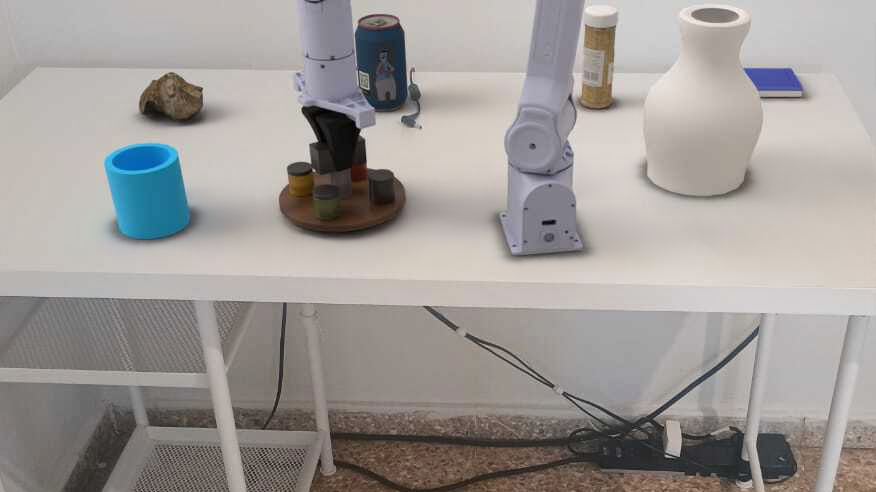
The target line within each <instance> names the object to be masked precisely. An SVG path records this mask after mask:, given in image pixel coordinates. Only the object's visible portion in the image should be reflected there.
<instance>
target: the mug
mask: <svg viewBox="0 0 876 492" xmlns="http://www.w3.org/2000/svg"><path fill="white" fill-rule="evenodd" d="M103 166H104V170H105V174H106V179H107V183H108V187H109V190H110V194H111V199H112V202H113V207H114V211H115V216H116V219H117V220H116V221H117V224H118V227H119V230H120V231H121V233H122V234H123V235H125V236H127V237H129V238H132V239H137V240H155V239H162V238H165V237H168V236H172V235H174V234H176V233H178V232H180V231H182V230H183V229H185V228H186V227H187V226H188V225H189V223H190V222H191V213H190V208H189V202H188V198H187V193H186V188H185V183H184V178H183V173H182V166H181V162H180V157H179V151H178V150H177V149H176V148H175V147H174V146H171V145H169V144H166V143H161V142H160V143H159V142H143V143H135V144H131V145H130V144H129V145H127V146H124V147H120V148H119V149H116V150H114V151H112V152H111V153H109V154H107V156H106V158H105V159H104V164H103Z"/></svg>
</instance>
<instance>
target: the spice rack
mask: <svg viewBox="0 0 876 492" xmlns="http://www.w3.org/2000/svg"><path fill="white" fill-rule="evenodd" d="M308 147H309V157H310V162H308V161H295V162H291V163H289V164H288V165H287V167H286V173H287V180H288V183H287V184H286V185H285V187H283V188H282V190H281V191H280V193H279V196H278V206H279V211H280V213H281V214H282V216H283V217H284V218H285V219H286V220H287V221H289V222H291V224H294V225H296V226H298V227H302V228H304V229H308V230H313V231H319V232H334V233H335V232H336V233H337V232H350V231H358V230H364V229H367V228H371V227H375V226H377V225H380V224H382V223H384V222H387V221H389V220H391V218H394V217H395V216H396V215H398V213H399V212H400V211H402V209H403V208H404V206H405V204H406V201H407V200H406V199H407V197H406V188H405V186H404V184H403V183H402V182H401V180H399V179H398V178H397V177H396V176H395V174H394V172H393V171H392V170H391V169H386V168H378V169H374V168H371V167H370V168H369V167H368V158H367V145H366V139H365V138H364V137H363V136H362V135H361V134H359V137H358V141H357V145H356V150H355V155H354V160H353V164H352V168H349V169H346V170H343V171H340V172H337V170H336V168H335V165H334V162H333V158H332V154H331V150H330V148H329V146H328V143H327V141H326V142H322V143H321V142H320V141H318V140H317V141H314V142H311V143H308Z"/></svg>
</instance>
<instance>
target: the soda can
mask: <svg viewBox="0 0 876 492" xmlns="http://www.w3.org/2000/svg"><path fill="white" fill-rule="evenodd" d="M400 22H401V20H400V18H399V17H398V16H396V15H393V14H388V13H374V14H373V13H372V14H367V15H364V16H362V17H360V18H359V19H358V21H357V27H356V29H355V31H354V47H355V60H356V72H357V85H358V87H359V88H360V90H361V91H362V93H363V95H364V97H365V98H366V100H367V102H368V103H369V105H371V106H372V107H373V108H375V112H389V111H394V110H397V109H399V108H401V107H402V106H404V103H405V102H406V100H407V98H408V95H409V91H408V74H407V73H408V71H407V55H406V54H407V51H406V35H405V30H404V27H403V26H402V24H401V23H400Z"/></svg>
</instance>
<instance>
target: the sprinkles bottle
mask: <svg viewBox="0 0 876 492" xmlns="http://www.w3.org/2000/svg"><path fill="white" fill-rule="evenodd" d="M583 14H584V15H583V23H584V41H583V49H582V50H583V51H582V68H581V97H580V103H581V104H582V105H583V106H584V107H585V108H586V107H587V108H589V109H604V108H607V107H609V106H610V105H611V104H612V102H613V97H612V94H613V93H612V92H613V81H614V68H615V44H616V29H617V24H618V21H619V9H618V8H617V7H615V6H612V5H608V4H595V5H590V6H588V7H586V8H584V12H583Z"/></svg>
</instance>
